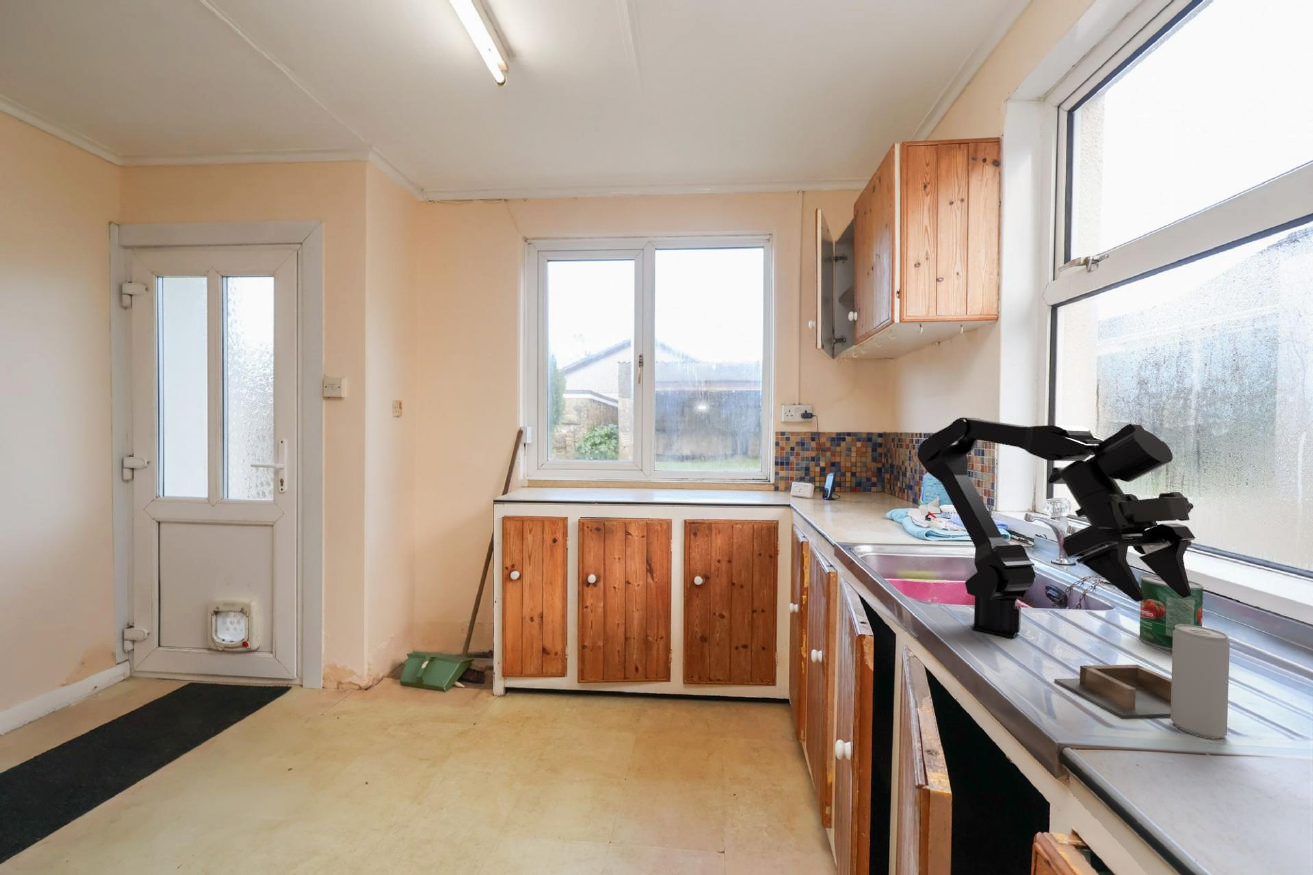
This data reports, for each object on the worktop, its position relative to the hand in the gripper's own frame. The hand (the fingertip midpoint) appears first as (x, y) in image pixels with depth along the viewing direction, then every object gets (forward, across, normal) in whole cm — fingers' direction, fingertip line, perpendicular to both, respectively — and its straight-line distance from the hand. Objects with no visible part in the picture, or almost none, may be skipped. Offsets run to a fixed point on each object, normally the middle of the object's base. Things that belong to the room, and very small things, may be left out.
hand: (1164, 599), depth 73 cm
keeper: (+11, -5, +7) cm, 14 cm away
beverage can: (+15, -6, +2) cm, 16 cm away
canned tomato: (+4, +25, +19) cm, 31 cm away
